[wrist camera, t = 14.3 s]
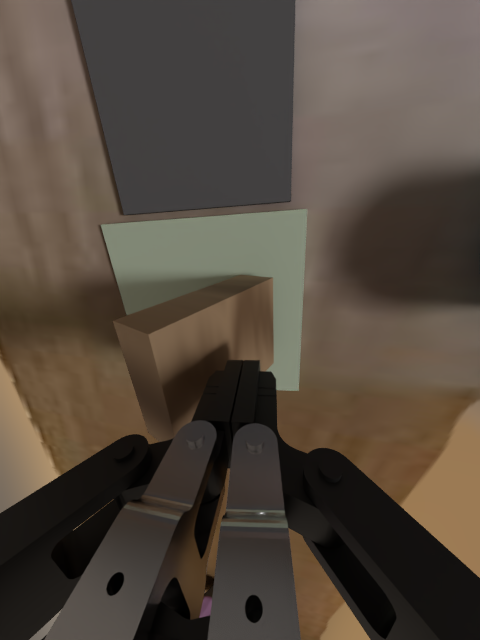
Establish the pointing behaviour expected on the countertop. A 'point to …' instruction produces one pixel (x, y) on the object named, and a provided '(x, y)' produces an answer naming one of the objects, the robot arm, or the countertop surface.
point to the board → (217, 267)
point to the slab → (194, 346)
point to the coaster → (193, 99)
